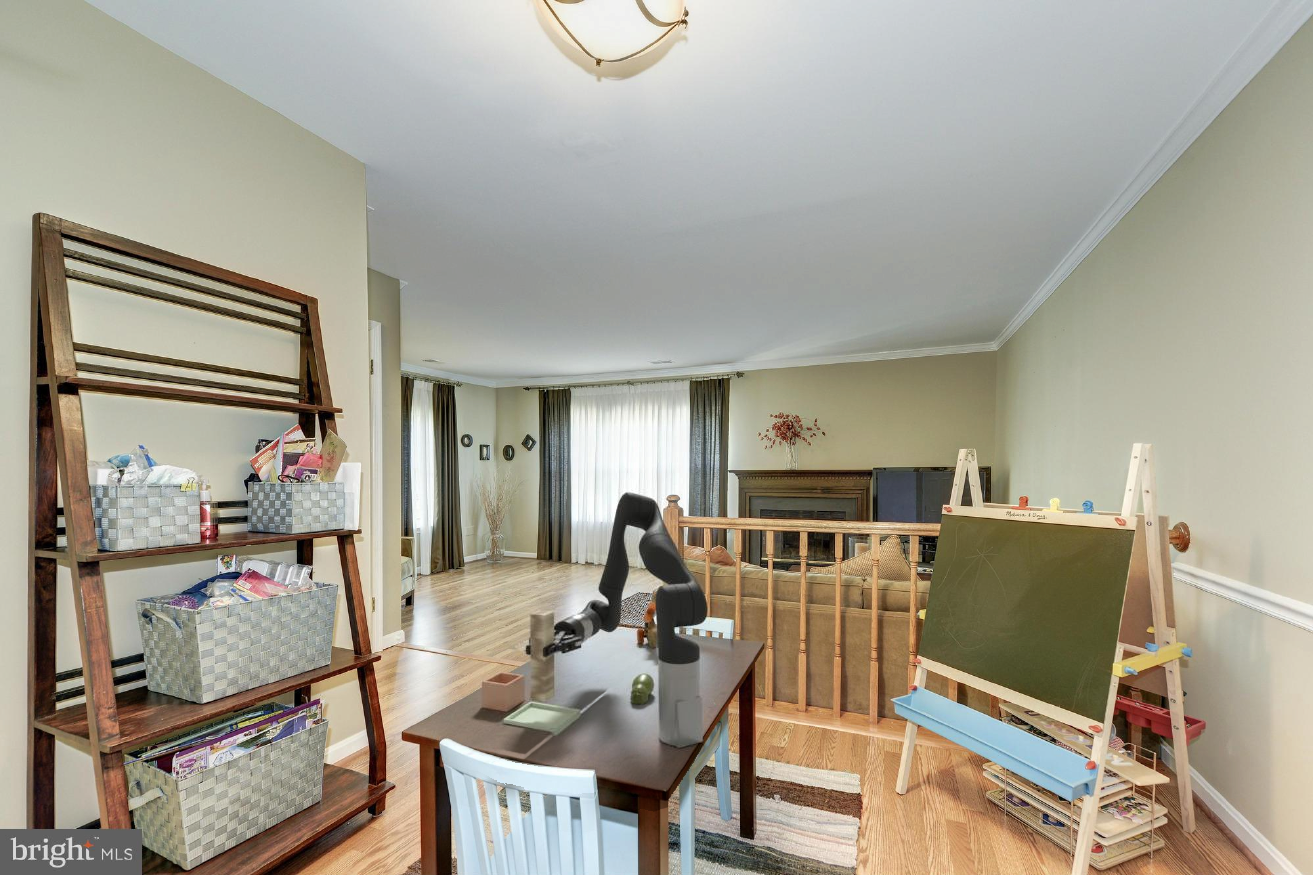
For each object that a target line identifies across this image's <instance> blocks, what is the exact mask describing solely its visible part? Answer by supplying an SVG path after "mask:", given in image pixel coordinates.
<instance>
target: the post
mask: <svg viewBox="0 0 1313 875" xmlns="http://www.w3.org/2000/svg"><path fill="white" fill-rule="evenodd" d="M529 618H530V620H529V621H530V622H529V624H530V625H529V629H530V631H529V632H530V633H529V634H530V635H529V636H530V637H529V638H530V645H531V654H530V655H529V656H530V657H529V658H530V663H529V664H530V674H529V675H530V701H532V702H538V703H547V702H548V701H549V700H551V699H552V698H554V697H555V653H553V654H551V655H549V656H548V657H543V648H544V647H546V646H547V645H549V644H551V643H553V642H554V626H555V611H553V610H543V609H538V610H537V611H533V612H532V613H530V615H529Z"/></svg>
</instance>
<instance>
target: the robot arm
mask: <svg viewBox="0 0 1313 875" xmlns="http://www.w3.org/2000/svg"><path fill="white" fill-rule="evenodd" d="M627 526H629V527H634V528H636V529H640V530H643V531H644V534H642V536H641V538H640V540H639V544H638V551H639V552H638V553H639V555H640V558H641V560H642V563H643V565H644V567H645V568H646V570H647V572H649V573H650V574H651V575H653V577H655V578H656V579H659V580H660V581H661V582H663V583H665V584H663V585H661V586H660V585H659V587H657V591H656V593H655V601H654V602H655V603H656V609H655V611H656V616H655V618H656V628H657V643H658V646H657V653H658V654H657V656H658V658H657V659H658V660H657V664H658V666H657V668H658V673H657V674H658V676H657V677H658V680H657V683H658V738H659V740H660V741H661V742H662V743H664V744H666V745H670V746H674V747H676V748H677V749H680V748H684V747H688V746H691V745H695V744H699V743H703V737H704V736H703V698H702V697H701V658H700V657H701V654H700V653H701V652H700V646H699V644H698V643H697V642H695V641H693V640H691V639H687V638H684V637H681V636H679V635H677V634H676V632H675V631H676V629H675V628H682V627H683V628H684V627H693V626H699V625H701V624H703V623H704V622H705V620H706V619H707V617H708V613H709V612H708V611H709V610H708V608H709V606H708V602H707V599H706V595H705V593H704V590H703V589H702V587H701V584H699V582H698V581H697V579H696V578H695V576H694V575H693V574H692V573H691V571H690V570H689V568H688V566H687V565H686V564H685V562H684V560H683V557H682V556H681V554H680V551H679V550H678V547H677V546H676V543H675V542H674V540H673V538H672V536H671V535H670V533H669V531H668V529H667V526H666V524H665V522H664V518H663V516H662V514H661V510H660V507H659V505H658V503H657V502H656V500H655V499H654V498H651V497H650V496H649V497H648V496H645V495H641V494H638V493H634V492H630V491H627V492H626V491H625V492H624V493H623V494H622V495H621V496H620V499H619V500H618V503H617V506H616V511H615V515H614V520H613V526H612V530H611V535H610V542H609V547H608V553H607V557H606V562H605V565H604V568H603V572H602V575H601V578H600V581H599V584H598V591H599V592H598V593H600V594H601V595H602V596H603V597H605V598H606V600H607V603H606V602H604V601H601V600H600V599H591V600H590V601H589V602H587V604H586V606H585V607H584V609H583V610H582V611H580V612H578V613H575V614H572V615H570V616H568V617H566V618H564V619H562V620H560V621H558V622H557V623H554V642H553V643H551V644H549V645H547V646H546V647H544V648H543V657H548V656H549V655H551V654H553V653H554V654H559V653H560V652H561V654H563V655H564V654H567V653H570V652H573V651H576V650H580V649H582V644H583V643H585V642H586V641H587V640H588V639H590V638H592V637H593V636H594V635H596V634H598V633H599V632H600V630H601V631H603V632H606V633H612V632H614V631H616V629H617V628H619V627H618V626H619V625H620V622H621V619H622V601H623V600H622V599H623V592H624V589H625V586H626V582H627V579H628V576H629V573H630V572H629V571H630V563H629V558H628V553H627V550H626V543H625V535H626V534H625V533H626V529H627ZM525 654H526V655H527V656H530V654H531V645H530V637H529V638H528V643H527V645H525Z"/></svg>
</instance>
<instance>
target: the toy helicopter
mask: <svg viewBox="0 0 1313 875" xmlns="http://www.w3.org/2000/svg"><path fill="white" fill-rule="evenodd" d="M655 602H656V601H651V602H649V604H648V606H647V609H646V610H645V612H644V616H643V618H642V621H643V622H644V628H638V629H637V630H636V638H637V639H636V640H637V643H638V645H643V644H644V643H645V639H646V640H647V643H648V644H649V648H650V649H653V648H654V649H655V648H657V647H658V643H657V623H656V621H655V618H656V603H655Z"/></svg>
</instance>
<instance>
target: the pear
mask: <svg viewBox="0 0 1313 875" xmlns="http://www.w3.org/2000/svg"><path fill="white" fill-rule="evenodd" d="M654 687H655V681H654V678H653V677H652V676H651V675H650V674H648V673H640V674H638V675H637V676H636V677H635V678H634V680H633V682H632V684H631V691H630V701H631V704H636V705H645V704H646V703H647V702H648V701H649V695H650V694H652V693H653V691H654Z"/></svg>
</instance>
